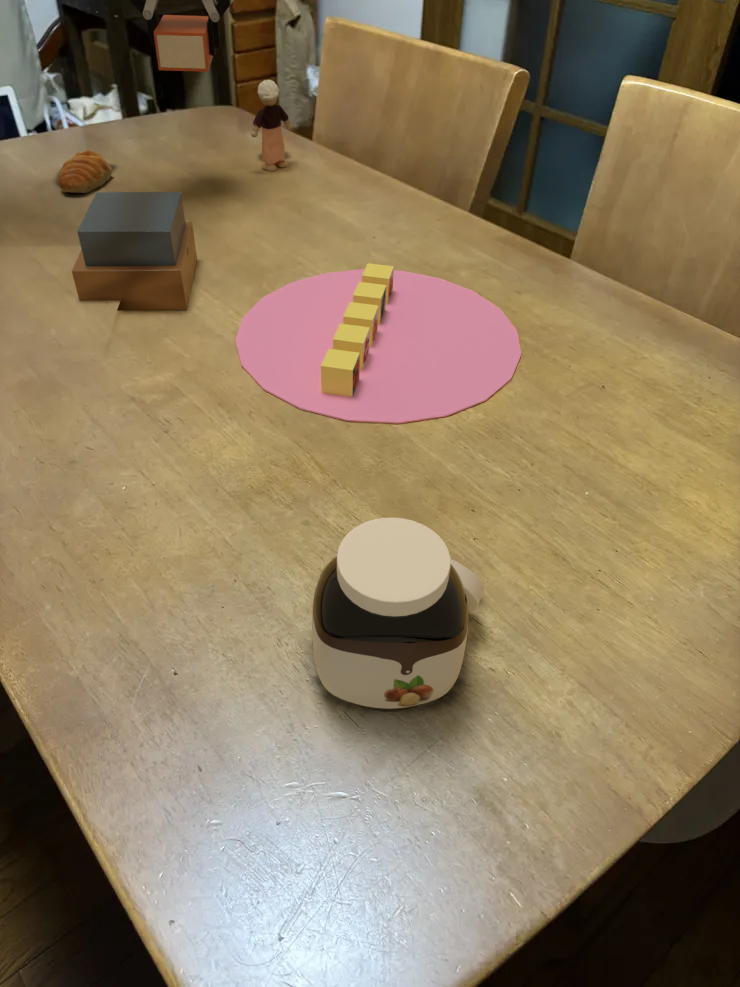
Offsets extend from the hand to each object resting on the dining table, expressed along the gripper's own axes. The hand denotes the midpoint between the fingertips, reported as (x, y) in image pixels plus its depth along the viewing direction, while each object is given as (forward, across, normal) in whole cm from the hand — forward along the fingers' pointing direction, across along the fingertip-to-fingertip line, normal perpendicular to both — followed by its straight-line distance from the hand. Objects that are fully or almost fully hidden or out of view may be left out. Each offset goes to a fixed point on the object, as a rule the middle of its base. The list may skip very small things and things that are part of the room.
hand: (186, 51), depth 102 cm
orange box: (+1, 0, 0) cm, 1 cm away
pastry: (+19, -17, +1) cm, 26 cm away
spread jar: (+19, +22, -86) cm, 90 cm away
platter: (+18, +24, -44) cm, 53 cm away
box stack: (+19, -4, -31) cm, 36 cm away
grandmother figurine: (+18, +11, +8) cm, 23 cm away
